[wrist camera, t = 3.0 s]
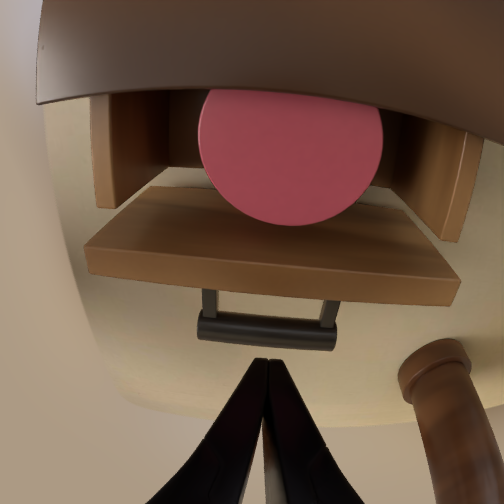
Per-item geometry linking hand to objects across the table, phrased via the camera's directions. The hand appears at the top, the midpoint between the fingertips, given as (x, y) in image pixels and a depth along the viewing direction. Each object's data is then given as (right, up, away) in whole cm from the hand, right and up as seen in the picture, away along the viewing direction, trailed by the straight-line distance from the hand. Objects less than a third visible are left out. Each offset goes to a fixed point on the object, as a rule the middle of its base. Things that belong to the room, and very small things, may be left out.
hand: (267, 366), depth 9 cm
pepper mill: (+15, -6, +13) cm, 21 cm away
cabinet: (+2, +16, +2) cm, 16 cm away
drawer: (+1, +8, +5) cm, 10 cm away
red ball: (+1, +9, +4) cm, 10 cm away
